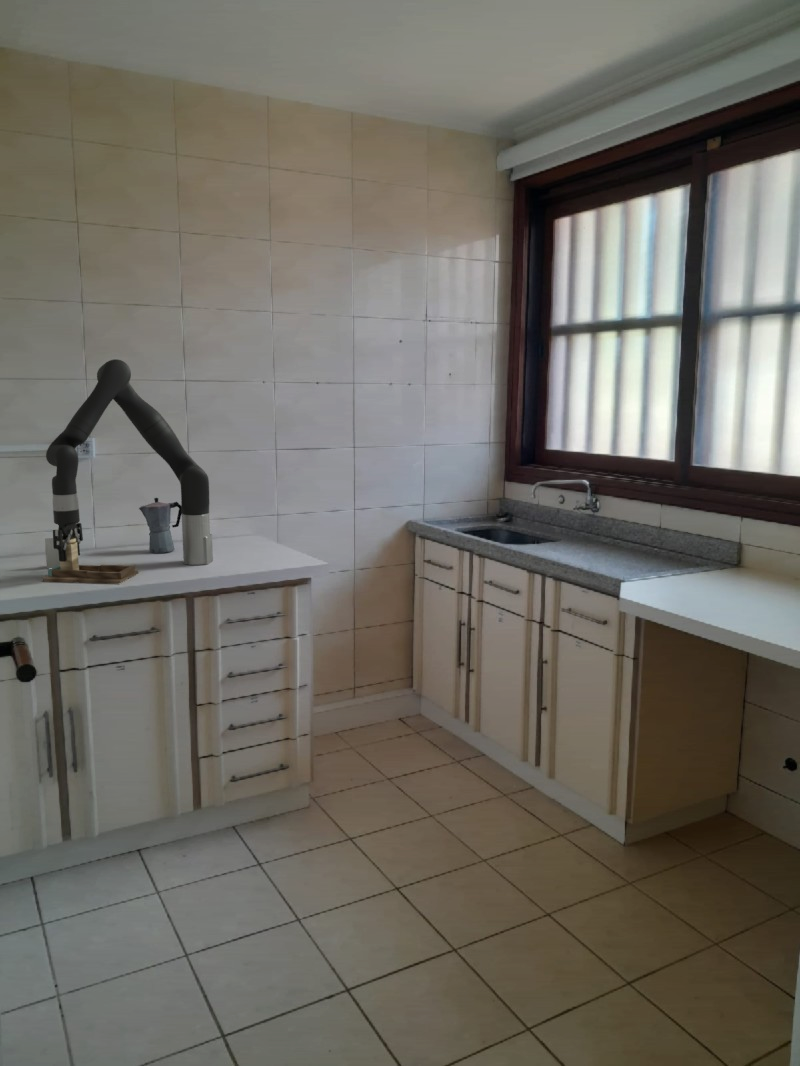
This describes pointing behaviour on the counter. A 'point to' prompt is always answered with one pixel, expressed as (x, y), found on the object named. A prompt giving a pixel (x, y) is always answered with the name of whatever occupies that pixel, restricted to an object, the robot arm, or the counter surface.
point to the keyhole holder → (92, 574)
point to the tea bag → (51, 554)
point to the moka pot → (160, 525)
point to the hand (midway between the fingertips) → (69, 558)
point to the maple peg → (71, 556)
